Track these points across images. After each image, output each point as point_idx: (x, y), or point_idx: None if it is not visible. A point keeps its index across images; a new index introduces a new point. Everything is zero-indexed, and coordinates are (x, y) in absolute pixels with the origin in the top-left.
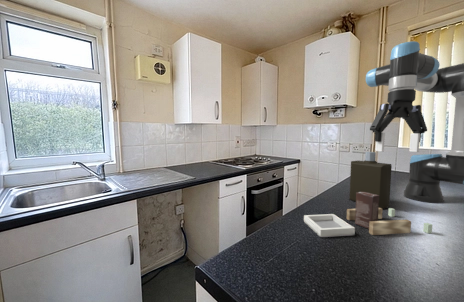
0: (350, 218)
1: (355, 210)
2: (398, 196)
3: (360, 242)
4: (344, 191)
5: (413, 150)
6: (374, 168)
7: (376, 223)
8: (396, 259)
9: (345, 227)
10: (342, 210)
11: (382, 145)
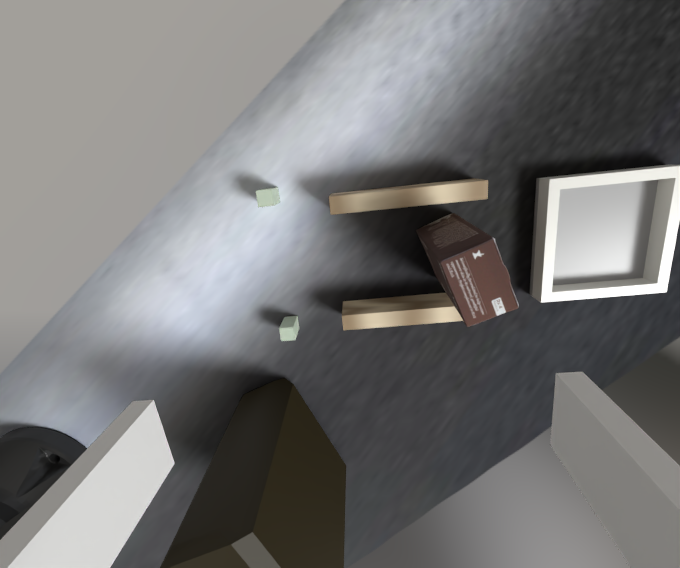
0: None
1: None
2: None
3: (553, 128)
4: None
5: (157, 435)
6: (274, 543)
7: (473, 181)
8: (521, 19)
9: (582, 183)
10: (435, 374)
11: (624, 418)
